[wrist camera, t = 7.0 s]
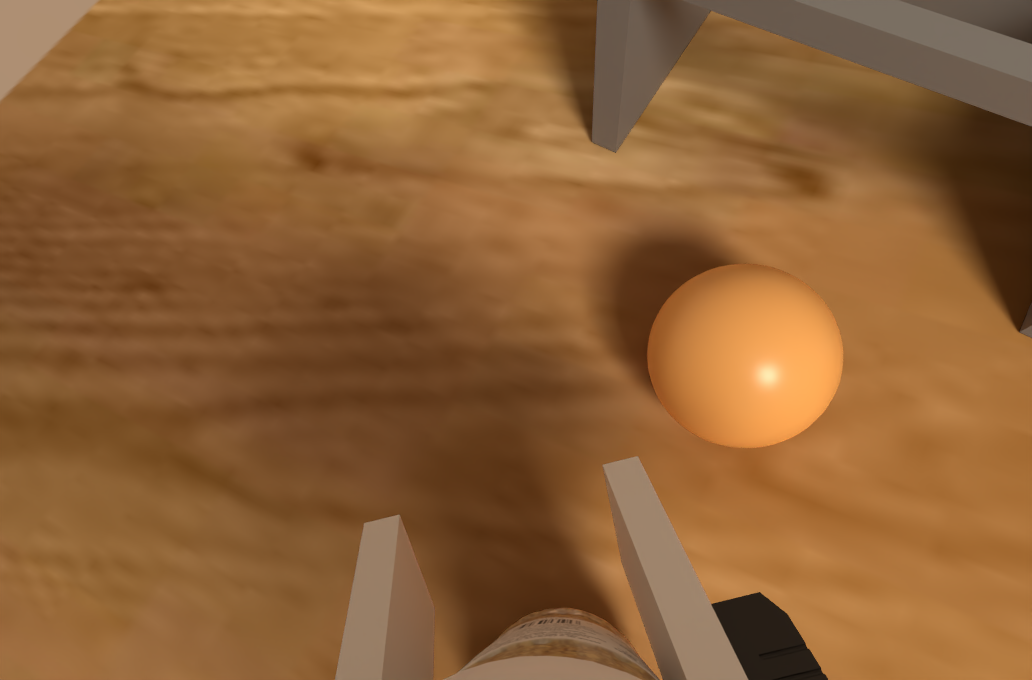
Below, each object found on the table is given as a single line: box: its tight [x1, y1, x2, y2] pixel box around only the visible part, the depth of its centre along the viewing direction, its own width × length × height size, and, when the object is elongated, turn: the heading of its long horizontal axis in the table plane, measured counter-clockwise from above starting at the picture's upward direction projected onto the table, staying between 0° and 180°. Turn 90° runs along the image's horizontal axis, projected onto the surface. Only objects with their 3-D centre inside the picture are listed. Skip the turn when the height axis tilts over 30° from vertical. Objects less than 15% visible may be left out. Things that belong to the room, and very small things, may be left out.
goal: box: [592, 0, 1032, 338], centre depth 19 cm, size 16×11×8 cm
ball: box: [647, 264, 843, 448], centre depth 17 cm, size 5×5×5 cm
